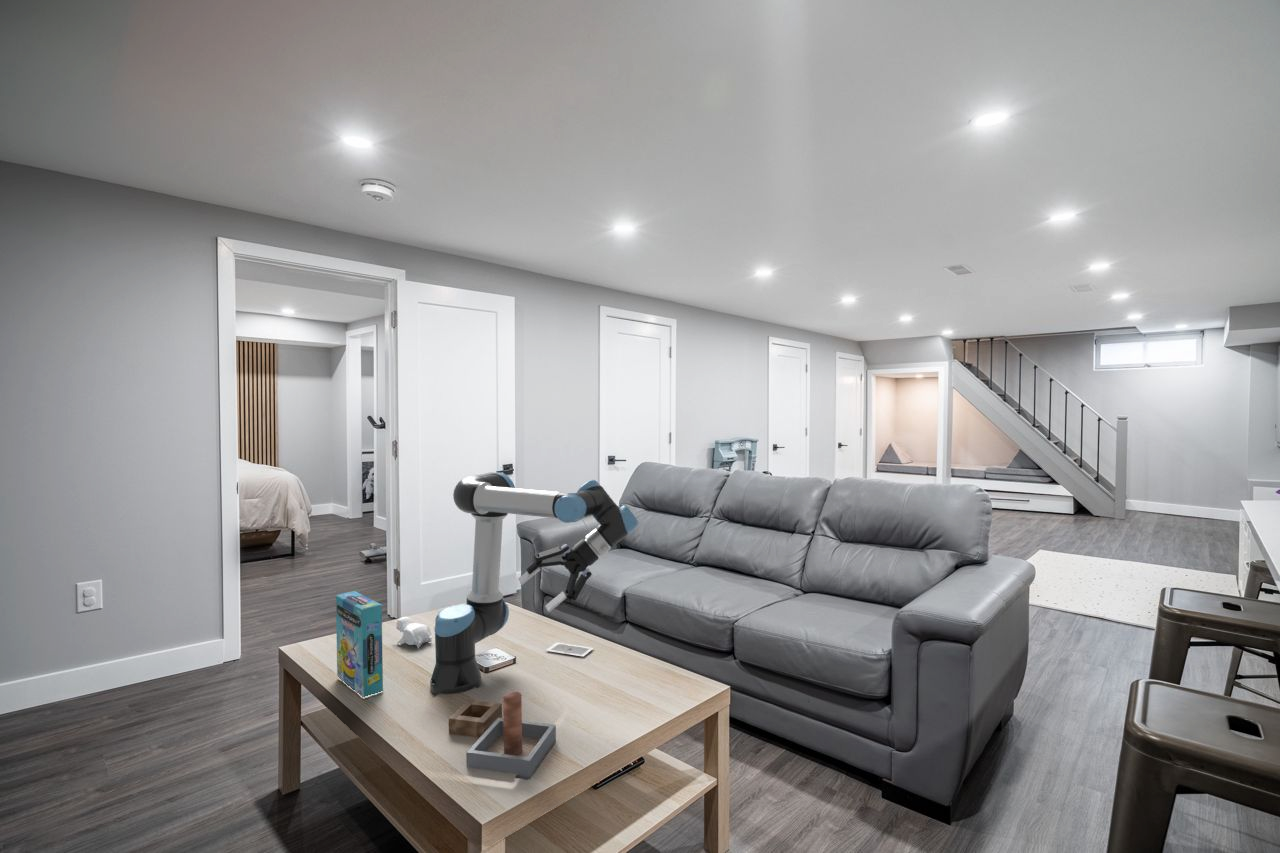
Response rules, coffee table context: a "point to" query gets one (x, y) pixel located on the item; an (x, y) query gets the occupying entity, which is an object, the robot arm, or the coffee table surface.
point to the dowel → (512, 723)
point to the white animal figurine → (413, 632)
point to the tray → (512, 763)
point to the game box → (359, 643)
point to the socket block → (474, 718)
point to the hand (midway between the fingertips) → (533, 595)
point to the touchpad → (569, 649)
